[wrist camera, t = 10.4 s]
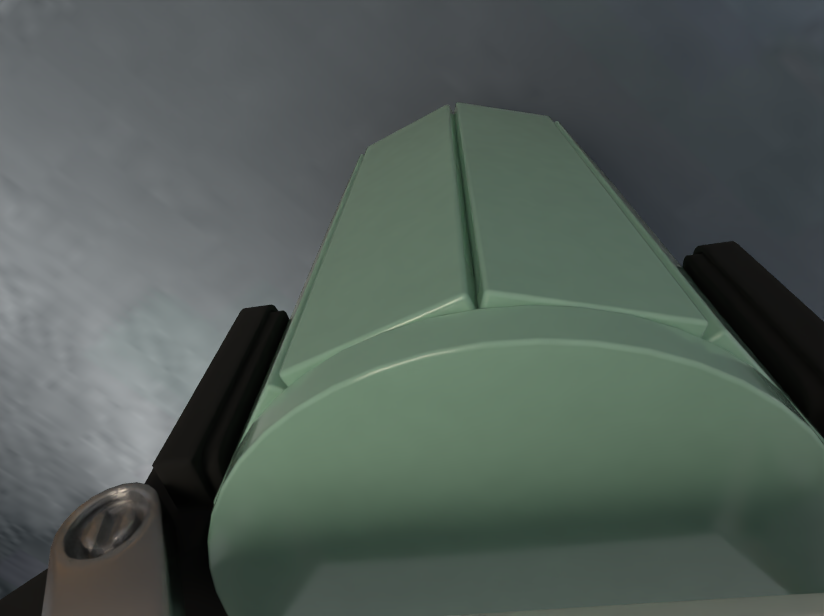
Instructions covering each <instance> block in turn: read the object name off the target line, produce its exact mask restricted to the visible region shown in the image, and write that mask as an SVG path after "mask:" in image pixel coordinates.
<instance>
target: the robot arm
mask: <svg viewBox="0 0 824 616" xmlns="http://www.w3.org/2000/svg"><path fill="white" fill-rule="evenodd" d="M683 269H684V270H685V271H686V272H687V274H688V275H689V276H690V277H691V278H692V280H693V281H694V282H695V283H696V284H697V286H698V287H699V288H700V289H701V290H702V292H703V293H704V294H705V295H706V296H707V298H708V299H709V300H710V301H711V302H712V304H713V305H714V306H715V307H716V308H717V310H718V311H719V312H720V313H721V315H722V316H723V317H724V318H725V319H726V321H727V322H728V323H729V324H730V325H731V327H732V328H733V329H734V330H735V331H736V333H737V334H738V335H739V336H740V337H741V339H742V340H743V341H744V342H745V343H746V345H747V346H748V347H749V348H750V349H751V351H752V352H753V353H754V354H755V356H756V357H757V358H758V359H759V360H760V362H761V363H762V364H763V365H764V366H765V368H766V369H767V370H768V371H769V372H770V374H771V375H772V376H773V377H774V378H775V380H776V381H777V382H778V383H779V384H780V386H781V387H782V388H783V389H784V390H785V392H786V393H787V394H788V395H789V396H790V398H791V399H792V400H793V401H794V403H795V404H796V405H797V406H798V407H799V409H800V410H801V411H802V412H803V413H804V415H805V416H806V417H807V418H808V419H809V421H810V422H811V423H812V424H813V425H814V427H815V428H816V429H817V430H818V431H819V433H820V434H821V435H822V436H823V437H824V322H823V321H822V320H821V319H820V318H819V317H818V316H817V315H816V314H814V313H813V312H812V311H811V310H810V309H809V308H808V307H807V306H806V305H805V304H803V303H802V302H801V301H800V300H799V299H798V298H797V297H796V296H795V295H794V294H792V293H791V292H790V291H789V290H788V289H787V288H786V287H785V286H784V285H782V284H781V283H780V282H779V281H778V280H777V279H776V278H775V277H774V276H773V275H771V274H770V273H769V272H768V271H767V270H766V269H765V268H764V267H763V266H762V265H760V264H759V263H758V262H757V261H756V260H755V259H754V258H753V257H752V256H751V255H749V254H748V253H747V252H746V251H745V250H744V249H743V248H742V247H741V246H740V245H738V244H737V243H736V242H734V241H730V242H722V243H715V244H708V245H701V246H697V247H696V248H695V250H694V253H693V255H687V256H686V257H685V258H684V261H683ZM288 322H289V318H288V315H287V314H286V312H285V311H278V310H277V309H276V307H275V306H274V305H265V306H258V307H251V308H244V309H242V310H241V311H240V313H239V315H238V317H237V318H236V320H235V322H234V324H233V325H232V327H231V329H230V331H229V332H228V334H227V336H226V338H225V339H224V341H223V343H222V345H221V346H220V348H219V350H218V352H217V353H216V355H215V357H214V359H213V360H212V362H211V364H210V366H209V367H208V369H207V371H206V373H205V374H204V376H203V378H202V379H201V381H200V383H199V385H198V386H197V388H196V390H195V392H194V393H193V395H192V397H191V399H190V400H189V402H188V404H187V406H186V407H185V409H184V411H183V413H182V414H181V416H180V418H179V420H178V421H177V423H176V425H175V427H174V428H173V430H172V432H171V434H170V435H169V437H168V439H167V441H166V442H165V444H164V446H163V447H162V449H161V451H160V453H159V454H158V456H157V458H156V460H155V461H154V463H153V465H152V466H153V470H152V472H151V473H150V475H149V477H148V479H147V480H146V482H145V484H142V483H137V482H136V483H127V484H121V485H118V486H115V487H112V488H109V489H107V490H105V491H103V492H101V493H99V494H97V495H95V496H93V497H92V498H90V499H89V500H88V501H86V502H85V503H84V504H82V505H81V506H79V507H78V508H77V509H76V510H75V511H74V512H73V513H72V514H71V515H70V516H69V517H68V518H67V519H66V520H65V521H64V522H63V524H62V525H61V527H60V528H59V530H58V531H57V533H56V535H55V537H54V540H53V543H52V546H51V550H50V558H49V565H48V569H46V570H45V571H43V572H42V573H40V574H39V575H37V576H36V577H34V578H33V579H31V580H30V581H28V582H27V583H25V584H23V585H22V586H20V587H19V588H17V589H16V590H14V591H13V592H11V593H10V594H8V595H7V596H5V597H4V598H2V599H1V600H0V616H228V615H227V614H226V612H225V610H224V608H223V605H222V603H221V601H220V599H219V597H218V595H217V593H216V591H215V587H214V584H213V580H212V576H211V573H210V569H209V558H208V542H207V538H208V532H209V525H210V519H211V512H212V510H213V507H214V498H215V496H216V494H217V491H218V489H219V486H220V484H221V482H222V479H223V477H224V474H225V472H226V470H227V467H228V465H229V463H230V460H231V458H232V455H233V453H234V451H235V448H236V446H237V444H238V441H239V439H240V436H241V434H242V432H243V429H244V427H245V424H246V422H247V420H248V417H249V415H250V413H251V410H252V408H253V405H254V403H255V401H256V398H257V396H258V394H259V391H260V389H261V386H262V384H263V382H264V379H265V377H266V374H267V372H268V370H269V367H270V365H271V363H272V360H273V358H274V355H275V353H276V351H277V348H278V346H279V344H280V341H281V339H282V336H283V334H284V332H285V329H286V327H287V324H288ZM453 616H824V593H811V594H794V595H777V596H760V597H743V598H726V599H709V600H692V601H675V602H658V603H641V604H625V605H609V606H594V607H578V608H562V609H546V610H530V611H515V612H499V613H484V614H468V615H453Z"/></svg>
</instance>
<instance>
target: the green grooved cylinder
mask: <svg viewBox="0 0 824 616" xmlns="http://www.w3.org/2000/svg"><path fill="white" fill-rule="evenodd" d="M207 542H208V558H209V569H210V573H211V576H212V580H213V584H214V587H215V591H216V593H217V595H218V597H219V599H220V601H221V603H222V605H223V608H224V610H225V612H226V614H227V615H228V616H453V615H468V614H484V613H499V612H515V611H530V610H546V609H562V608H578V607H594V606H609V605H625V604H641V603H658V602H675V601H692V600H709V599H726V598H743V597H760V596H777V595H794V594H811V593H824V437H823V436H822V435H821V434H820V433H819V431H818V430H817V429H816V428H815V427H814V425H813V424H812V423H811V422H810V421H809V419H808V418H807V417H806V416H805V415H804V413H803V412H802V411H801V410H800V409H799V407H798V406H797V405H796V404H795V403H794V401H793V400H792V399H791V398H790V396H789V395H788V394H787V393H786V392H785V390H784V389H783V388H782V387H781V386H780V384H779V383H778V382H777V381H776V380H775V378H774V377H773V376H772V375H771V374H770V372H769V371H768V370H767V369H766V368H765V366H764V365H763V364H762V363H761V362H760V360H759V359H758V358H757V357H756V356H755V354H754V353H753V352H752V351H751V349H750V348H749V347H748V346H747V345H746V343H745V342H744V341H743V340H742V339H741V337H740V336H739V335H738V334H737V333H736V331H735V330H734V329H733V328H732V327H731V325H730V324H729V323H728V322H727V321H726V319H725V318H724V317H723V316H722V315H721V313H720V312H719V311H718V310H717V308H716V307H715V306H714V305H713V304H712V302H711V301H710V300H709V299H708V298H707V296H706V295H705V294H704V293H703V292H702V290H701V289H700V288H699V287H698V286H697V284H696V283H695V282H694V281H693V280H692V278H691V277H690V276H689V275H688V274H687V272H686V271H685V270H684V269H683V268H682V266H681V265H680V264H679V263H678V261H677V260H676V259H675V258H674V257H673V255H672V254H671V253H670V252H669V251H668V249H667V248H666V247H665V246H664V245H663V243H662V242H661V241H660V240H659V239H658V237H657V236H656V235H655V234H654V233H653V231H652V230H651V229H650V228H649V227H648V225H647V224H646V223H645V222H644V220H643V219H642V218H641V217H640V216H639V214H638V213H637V212H636V211H635V210H634V208H633V207H632V206H631V205H630V204H629V202H628V201H627V200H626V199H625V198H624V196H623V195H622V194H621V193H620V192H619V190H618V189H617V188H616V187H615V186H614V184H613V183H612V182H611V181H610V180H609V179H608V177H607V176H606V175H605V174H604V173H603V172H602V171H601V169H600V168H599V167H598V166H597V165H596V164H595V163H594V161H593V160H592V159H591V158H590V157H589V156H588V155H587V153H586V152H585V151H584V150H583V149H582V148H581V147H580V146H579V144H578V143H577V142H576V141H575V140H574V139H573V138H572V136H571V135H570V134H569V133H568V132H567V131H566V130H565V128H564V127H563V126H562V125H561V124H560V123H559V122H558V121H556V122H555V123H554V122H553V121H552V119H551V118H550V117H549V116H544V115H537V114H531V113H524V112H518V111H511V110H505V109H498V108H492V107H485V106H479V105H472V104H466V103H459V102H458V103H456V106H455V111H454V114H453V112H452V110H451V107H450V106H449V105H445V106H443V107H441V108H439V109H437V110H435V111H434V112H432V113H430V114H428V115H426V116H424V117H422V118H421V119H419V120H417V121H415V122H413V123H411V124H410V125H408V126H406V127H404V128H402V129H400V130H398V131H397V132H395V133H393V134H391V135H389V136H387V137H385V138H384V139H382V140H380V141H378V142H376V143H374V144H372V145H371V146H369V147H367V149H366V152H365V154H364V155H362V154H361V155H360V156H359V159H358V161H357V163H356V165H355V168H354V170H353V172H352V175H351V177H350V179H349V181H348V184H347V186H346V188H345V190H344V193H343V195H342V197H341V200H340V202H339V204H338V206H337V209H336V211H335V213H334V215H333V218H332V220H331V222H330V225H329V227H328V229H327V232H326V234H325V236H324V239H323V241H322V244H321V246H320V248H319V251H318V253H317V255H316V258H315V260H314V263H313V265H312V267H311V270H310V272H309V274H308V277H307V279H306V282H305V284H304V286H303V289H302V291H301V294H300V296H299V298H298V301H297V303H296V305H295V308H294V310H293V313H292V315H291V317H290V320H289V322H288V324H287V327H286V329H285V332H284V334H283V336H282V339H281V341H280V344H279V346H278V348H277V351H276V353H275V355H274V358H273V360H272V363H271V365H270V367H269V370H268V372H267V374H266V377H265V379H264V382H263V384H262V386H261V389H260V391H259V394H258V396H257V398H256V401H255V403H254V405H253V408H252V410H251V413H250V415H249V417H248V420H247V422H246V424H245V427H244V429H243V432H242V434H241V436H240V439H239V441H238V444H237V446H236V448H235V451H234V453H233V455H232V458H231V460H230V463H229V465H228V467H227V470H226V472H225V474H224V477H223V479H222V482H221V484H220V486H219V489H218V491H217V494H216V496H215V498H214V507H213V510H212V512H211V519H210V525H209V532H208V538H207Z"/></svg>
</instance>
